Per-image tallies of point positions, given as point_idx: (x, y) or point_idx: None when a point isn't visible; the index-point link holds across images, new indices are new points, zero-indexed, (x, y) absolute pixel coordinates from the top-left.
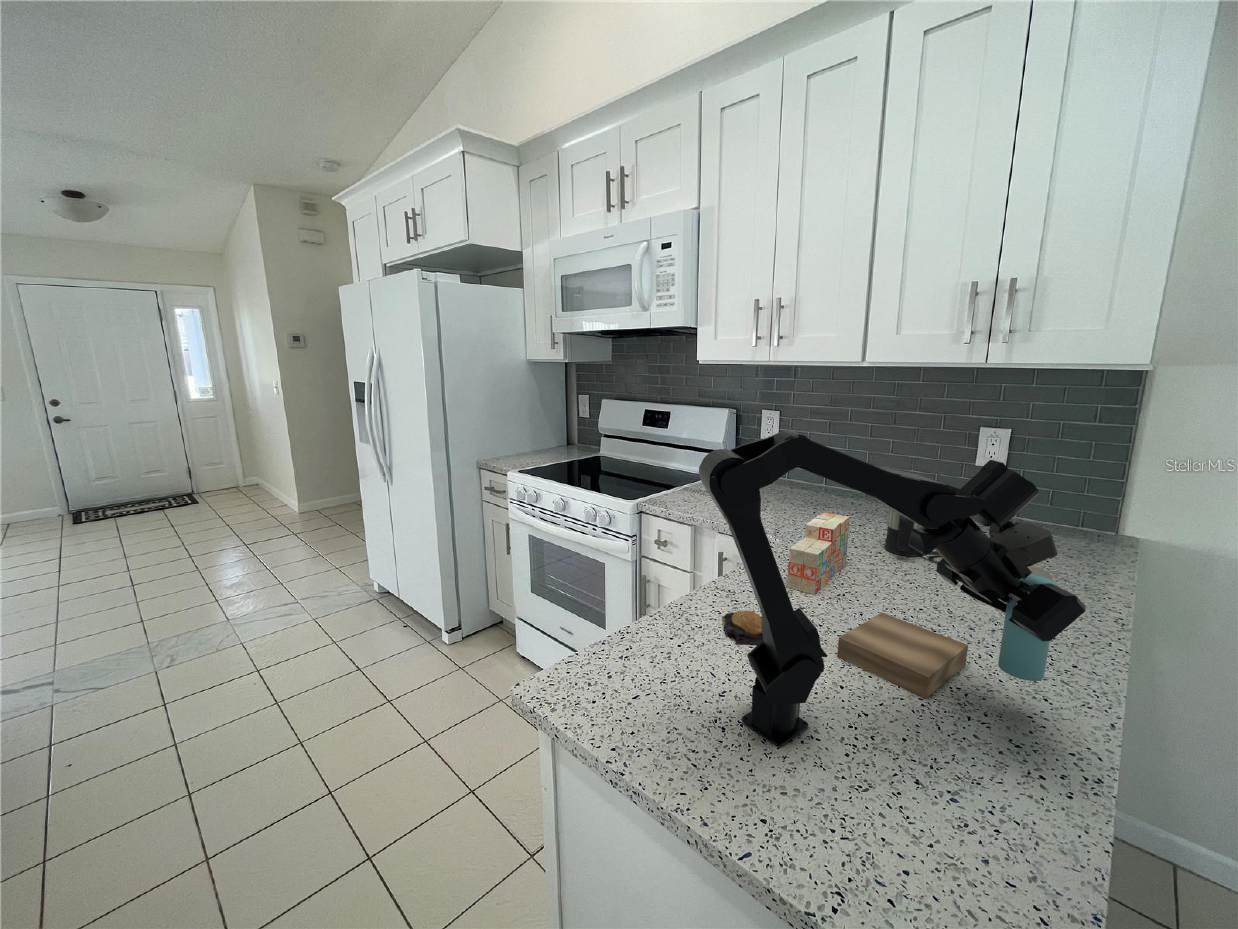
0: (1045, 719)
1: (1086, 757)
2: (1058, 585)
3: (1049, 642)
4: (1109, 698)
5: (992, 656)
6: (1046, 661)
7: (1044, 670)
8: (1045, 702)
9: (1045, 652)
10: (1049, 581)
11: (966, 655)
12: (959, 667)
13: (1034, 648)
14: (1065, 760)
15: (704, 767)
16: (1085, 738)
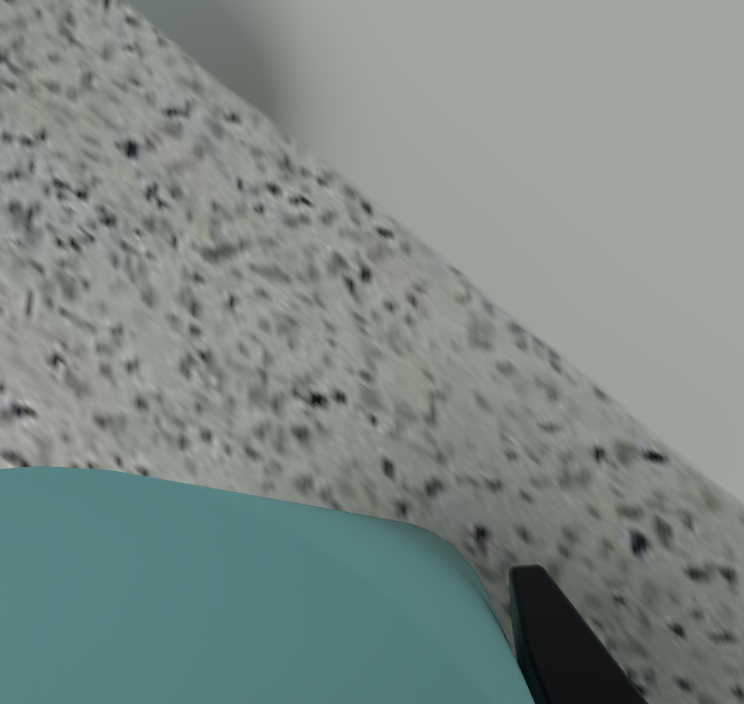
0: (436, 491)
1: (652, 500)
2: (354, 584)
3: (465, 569)
4: (316, 170)
5: (28, 407)
6: (461, 558)
7: (473, 570)
8: (332, 412)
9: (494, 610)
10: (35, 609)
11: None
12: None
13: None
14: (679, 598)
15: None
16: (541, 421)
